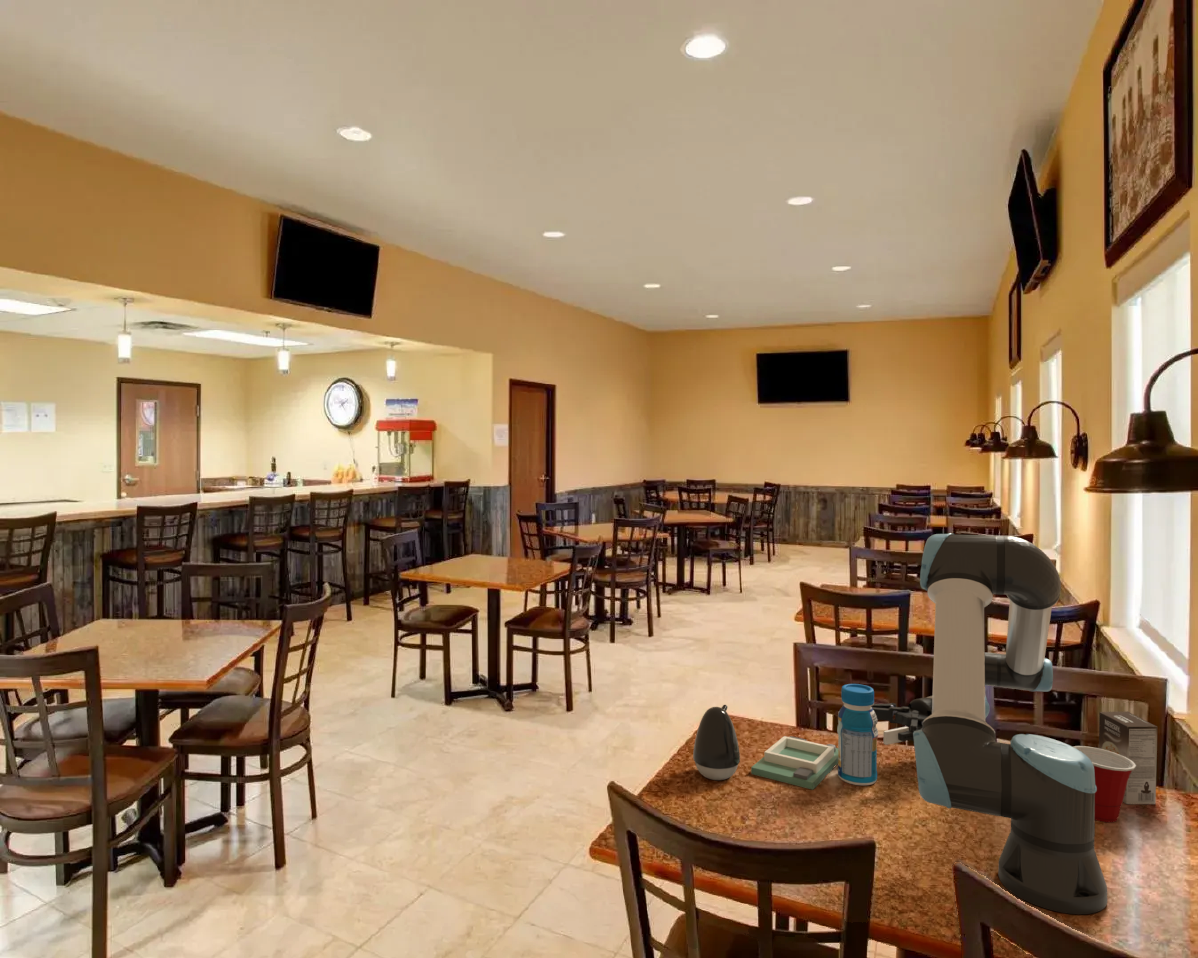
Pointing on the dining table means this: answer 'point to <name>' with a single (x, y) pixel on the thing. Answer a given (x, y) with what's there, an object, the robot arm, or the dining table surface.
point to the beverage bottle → (857, 736)
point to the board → (797, 762)
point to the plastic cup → (1108, 781)
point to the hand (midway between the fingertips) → (861, 727)
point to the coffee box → (1132, 752)
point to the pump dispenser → (716, 745)
